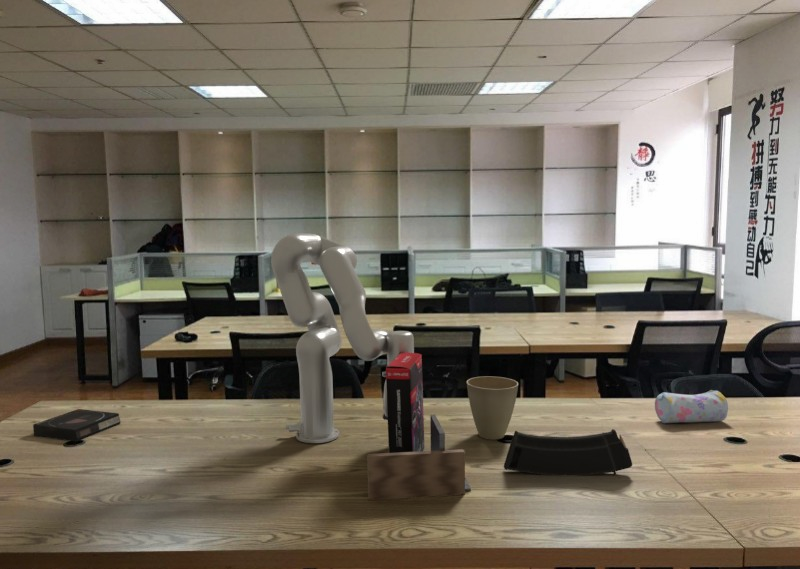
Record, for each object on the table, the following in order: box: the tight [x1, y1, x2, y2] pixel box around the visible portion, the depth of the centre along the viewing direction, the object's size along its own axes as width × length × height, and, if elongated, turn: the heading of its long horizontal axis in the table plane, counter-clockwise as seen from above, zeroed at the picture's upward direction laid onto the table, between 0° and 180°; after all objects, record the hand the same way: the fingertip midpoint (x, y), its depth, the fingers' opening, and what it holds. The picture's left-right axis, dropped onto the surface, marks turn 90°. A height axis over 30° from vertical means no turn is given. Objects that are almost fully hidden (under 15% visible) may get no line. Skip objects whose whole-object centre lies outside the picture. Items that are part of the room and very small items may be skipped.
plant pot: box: [466, 375, 519, 441], centre depth 174 cm, size 15×15×16 cm
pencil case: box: [654, 389, 729, 424], centre depth 185 cm, size 21×9×10 cm, turn 98°
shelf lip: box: [367, 448, 466, 501], centre depth 135 cm, size 22×2×10 cm, turn 96°
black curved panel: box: [503, 428, 633, 476], centre depth 147 cm, size 17×3×30 cm
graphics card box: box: [385, 352, 425, 453], centre depth 155 cm, size 17×7×27 cm, turn 168°
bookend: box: [429, 414, 472, 492], centre depth 144 cm, size 7×14×14 cm, turn 6°
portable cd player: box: [32, 408, 121, 442], centre depth 184 cm, size 16×17×4 cm
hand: (401, 438), depth 169 cm, fingers closed
